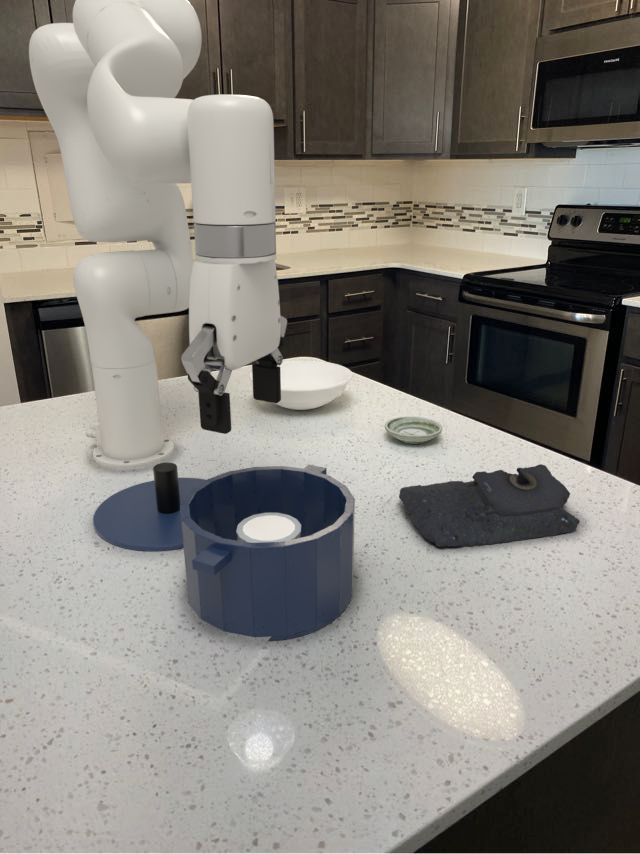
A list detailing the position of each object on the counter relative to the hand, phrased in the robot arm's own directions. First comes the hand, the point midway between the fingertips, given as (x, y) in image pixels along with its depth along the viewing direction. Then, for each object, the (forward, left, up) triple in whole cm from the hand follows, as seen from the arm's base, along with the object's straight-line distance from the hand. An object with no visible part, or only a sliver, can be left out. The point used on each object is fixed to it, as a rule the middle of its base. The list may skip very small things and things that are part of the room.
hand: (243, 414), depth 68 cm
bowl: (-21, +54, -19) cm, 61 cm away
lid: (-16, +7, -19) cm, 26 cm away
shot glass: (+4, -1, -19) cm, 19 cm away
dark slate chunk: (+21, +26, -19) cm, 38 cm away
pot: (+4, -1, -19) cm, 19 cm away
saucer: (+4, +47, -19) cm, 51 cm away
